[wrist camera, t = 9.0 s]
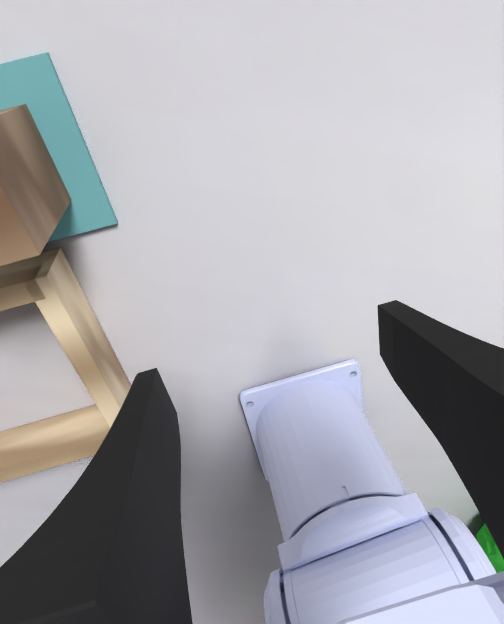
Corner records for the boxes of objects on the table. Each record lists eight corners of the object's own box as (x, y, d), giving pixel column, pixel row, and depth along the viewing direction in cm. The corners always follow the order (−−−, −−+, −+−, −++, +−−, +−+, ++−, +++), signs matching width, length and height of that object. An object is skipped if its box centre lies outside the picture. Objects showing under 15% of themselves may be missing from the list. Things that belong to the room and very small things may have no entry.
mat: (117, 221, 20) (117, 223, 20) (-28, 260, 20) (-31, 263, 20) (48, 52, 16) (46, 52, 16) (-134, 98, 16) (-138, 99, 16)
